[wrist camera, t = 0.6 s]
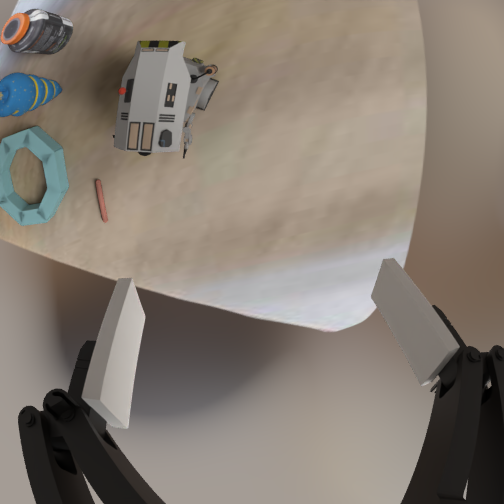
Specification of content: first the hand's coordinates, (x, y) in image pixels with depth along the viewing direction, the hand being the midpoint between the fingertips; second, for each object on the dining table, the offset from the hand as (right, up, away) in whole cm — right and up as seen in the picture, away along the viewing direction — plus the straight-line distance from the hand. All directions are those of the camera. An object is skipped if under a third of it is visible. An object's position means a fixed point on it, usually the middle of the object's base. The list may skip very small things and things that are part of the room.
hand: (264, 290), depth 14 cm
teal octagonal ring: (-35, +14, +17) cm, 42 cm away
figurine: (-11, +21, +16) cm, 29 cm away
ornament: (-27, +24, +12) cm, 38 cm away
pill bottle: (-28, +32, +7) cm, 43 cm away
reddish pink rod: (-23, +9, +22) cm, 33 cm away
